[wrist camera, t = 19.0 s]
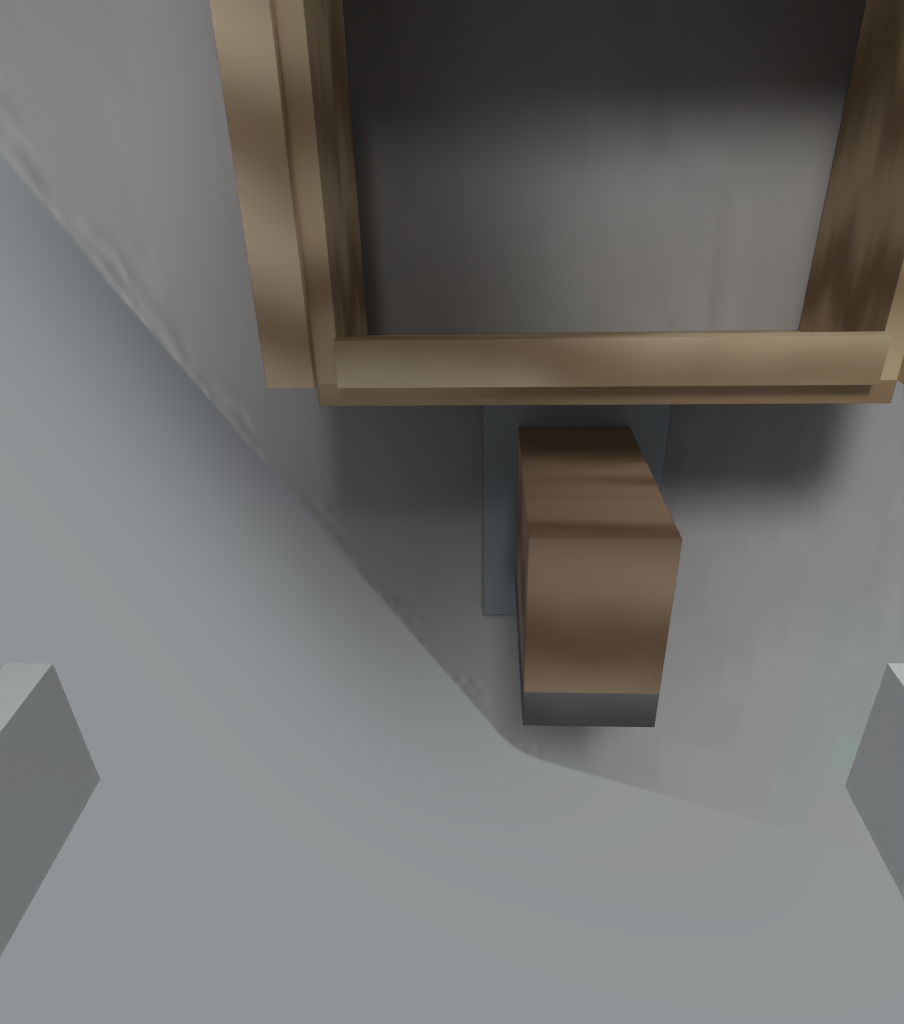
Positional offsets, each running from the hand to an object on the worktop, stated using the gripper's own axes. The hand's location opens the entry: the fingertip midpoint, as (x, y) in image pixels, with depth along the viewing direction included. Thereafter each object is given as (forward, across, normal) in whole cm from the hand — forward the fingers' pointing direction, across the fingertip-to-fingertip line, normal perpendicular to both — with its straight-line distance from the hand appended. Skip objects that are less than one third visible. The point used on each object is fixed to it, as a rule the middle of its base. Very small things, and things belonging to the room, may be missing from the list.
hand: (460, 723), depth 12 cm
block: (+28, +5, -12) cm, 31 cm away
